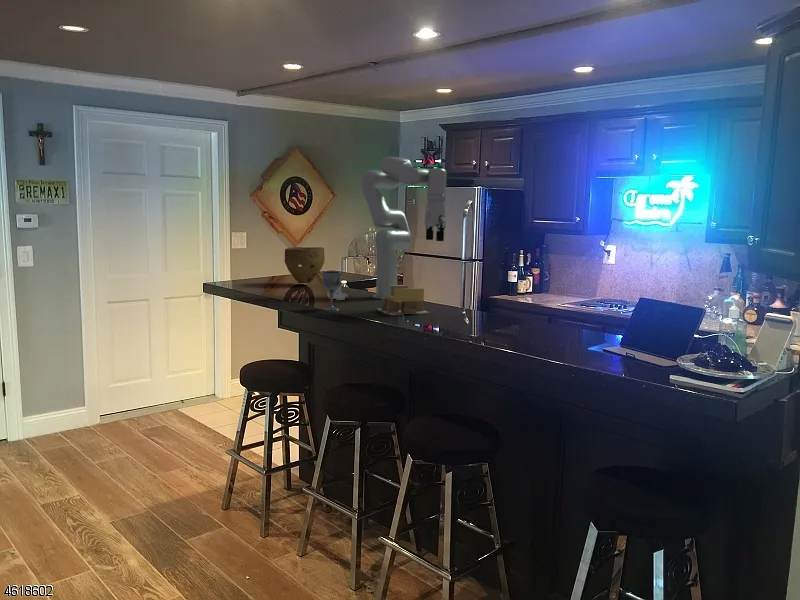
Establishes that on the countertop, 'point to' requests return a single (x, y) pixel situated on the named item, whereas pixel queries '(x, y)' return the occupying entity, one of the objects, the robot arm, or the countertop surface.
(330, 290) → the wine glass
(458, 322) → the countertop surface
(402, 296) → the tan wooden block
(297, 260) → the bowl
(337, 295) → the seated beast figurine
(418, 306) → the stepped wooden block
